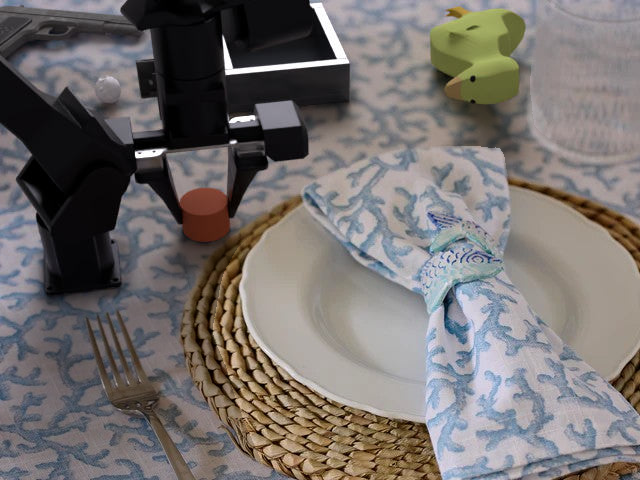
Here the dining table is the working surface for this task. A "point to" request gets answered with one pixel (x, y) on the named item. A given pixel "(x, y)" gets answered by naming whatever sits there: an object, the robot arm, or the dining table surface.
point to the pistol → (55, 25)
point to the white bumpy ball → (107, 89)
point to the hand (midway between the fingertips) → (205, 218)
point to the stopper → (205, 214)
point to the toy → (478, 54)
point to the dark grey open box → (289, 70)
